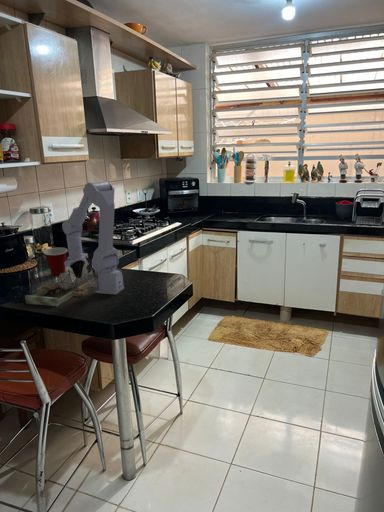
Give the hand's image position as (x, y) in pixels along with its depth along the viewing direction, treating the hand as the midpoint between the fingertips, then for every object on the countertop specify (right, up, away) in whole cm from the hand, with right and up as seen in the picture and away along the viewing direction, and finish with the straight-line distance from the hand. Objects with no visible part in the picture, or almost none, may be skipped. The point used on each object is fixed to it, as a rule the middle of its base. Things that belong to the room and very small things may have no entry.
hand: (78, 277), depth 165 cm
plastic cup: (-14, +1, +14) cm, 19 cm away
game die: (-2, -5, -7) cm, 9 cm away
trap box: (-4, -6, -13) cm, 14 cm away
